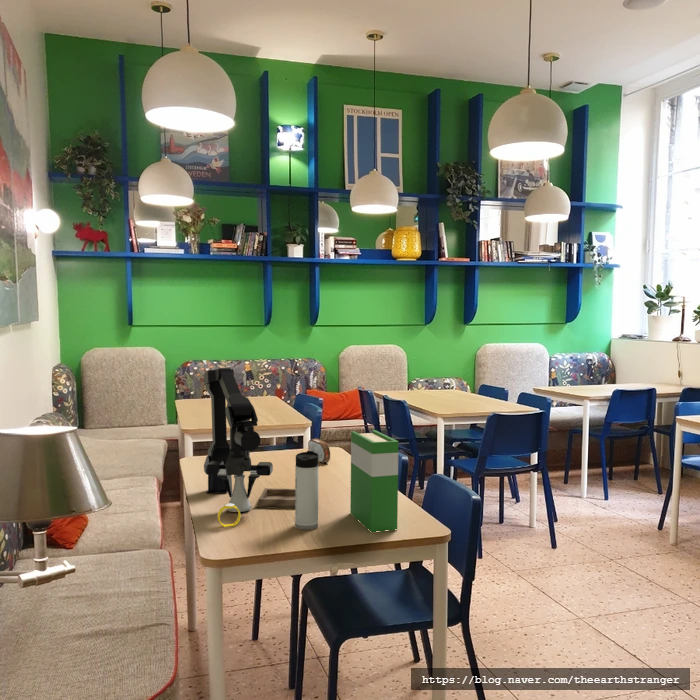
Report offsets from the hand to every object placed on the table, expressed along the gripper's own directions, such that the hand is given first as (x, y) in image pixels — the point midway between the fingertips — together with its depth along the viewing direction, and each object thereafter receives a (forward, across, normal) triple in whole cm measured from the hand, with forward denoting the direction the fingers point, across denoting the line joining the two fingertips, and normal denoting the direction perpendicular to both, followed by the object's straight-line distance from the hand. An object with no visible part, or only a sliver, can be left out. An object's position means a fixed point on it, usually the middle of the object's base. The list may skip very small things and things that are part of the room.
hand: (239, 497), depth 183 cm
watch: (+4, 0, -14) cm, 15 cm away
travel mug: (+4, +21, -13) cm, 25 cm away
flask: (+4, 0, 0) cm, 4 cm away
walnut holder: (+4, +11, +9) cm, 15 cm away
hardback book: (+4, +39, -8) cm, 40 cm away
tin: (+4, +18, +66) cm, 69 cm away
